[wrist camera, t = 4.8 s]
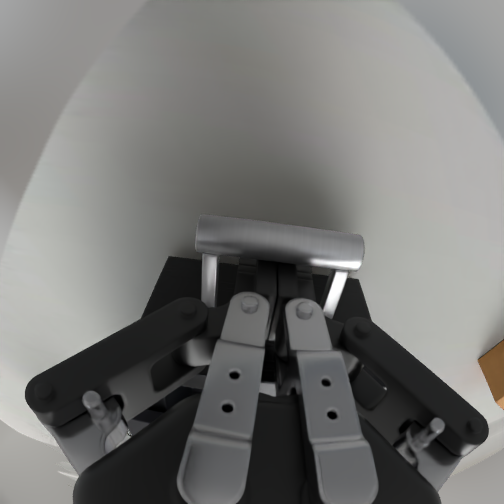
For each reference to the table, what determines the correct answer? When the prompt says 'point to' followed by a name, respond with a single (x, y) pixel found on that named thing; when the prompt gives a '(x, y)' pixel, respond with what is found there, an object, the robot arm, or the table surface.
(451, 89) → the table surface
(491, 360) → the cardboard box
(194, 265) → the drawer
